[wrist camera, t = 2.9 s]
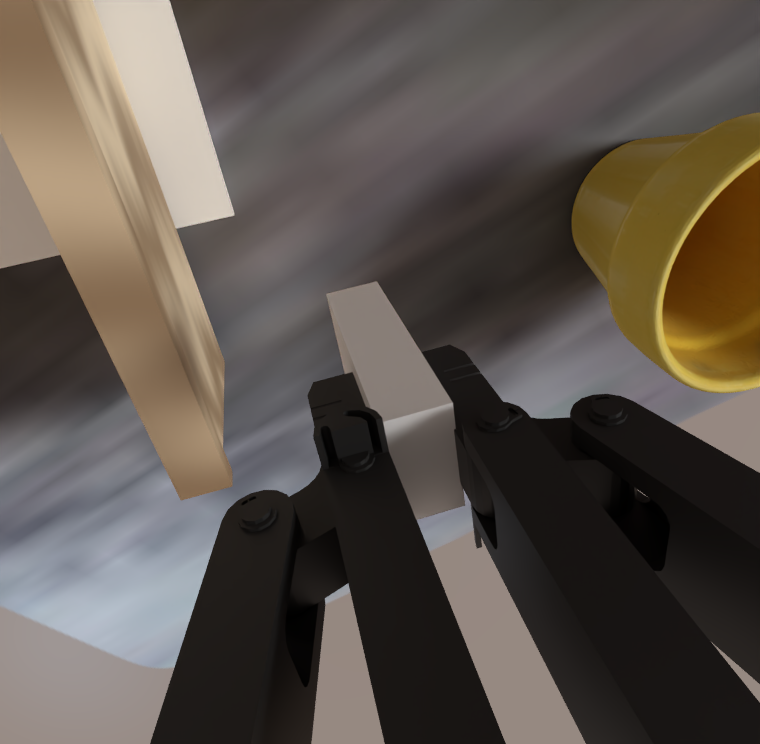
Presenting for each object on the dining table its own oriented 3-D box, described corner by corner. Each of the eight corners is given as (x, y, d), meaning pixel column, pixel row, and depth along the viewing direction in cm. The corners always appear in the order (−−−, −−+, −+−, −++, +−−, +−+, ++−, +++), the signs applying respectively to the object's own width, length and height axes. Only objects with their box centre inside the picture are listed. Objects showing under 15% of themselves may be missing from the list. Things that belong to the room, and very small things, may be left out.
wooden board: (-16, -138, 17) (-202, -268, 10) (52, -149, 17) (-80, -283, 10) (192, 373, 27) (178, 501, 20) (234, 363, 27) (235, 485, 20)
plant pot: (497, 186, 27) (615, 254, 19) (690, 43, 25) (908, 47, 17) (578, 336, 32) (696, 438, 24) (740, 224, 31) (924, 292, 23)
